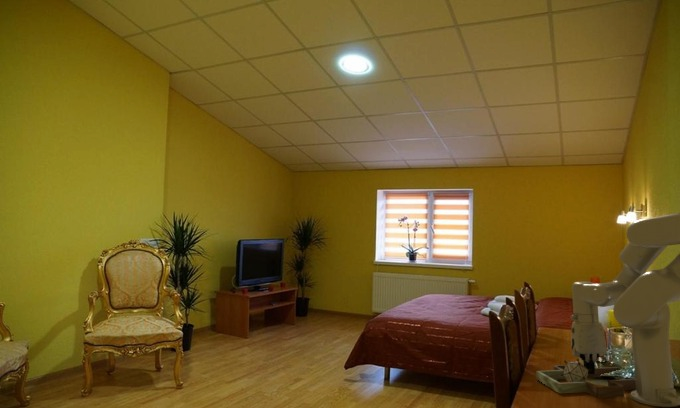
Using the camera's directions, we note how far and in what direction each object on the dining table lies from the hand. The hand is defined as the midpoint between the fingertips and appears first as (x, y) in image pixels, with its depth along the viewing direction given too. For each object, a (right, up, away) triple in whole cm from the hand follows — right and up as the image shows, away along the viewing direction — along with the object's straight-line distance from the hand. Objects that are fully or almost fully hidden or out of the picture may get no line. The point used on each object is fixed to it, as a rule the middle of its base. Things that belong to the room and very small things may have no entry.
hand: (589, 373), depth 157 cm
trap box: (0, -3, -1) cm, 3 cm away
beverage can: (+19, -5, +27) cm, 34 cm away
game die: (-5, -4, -1) cm, 6 cm away
